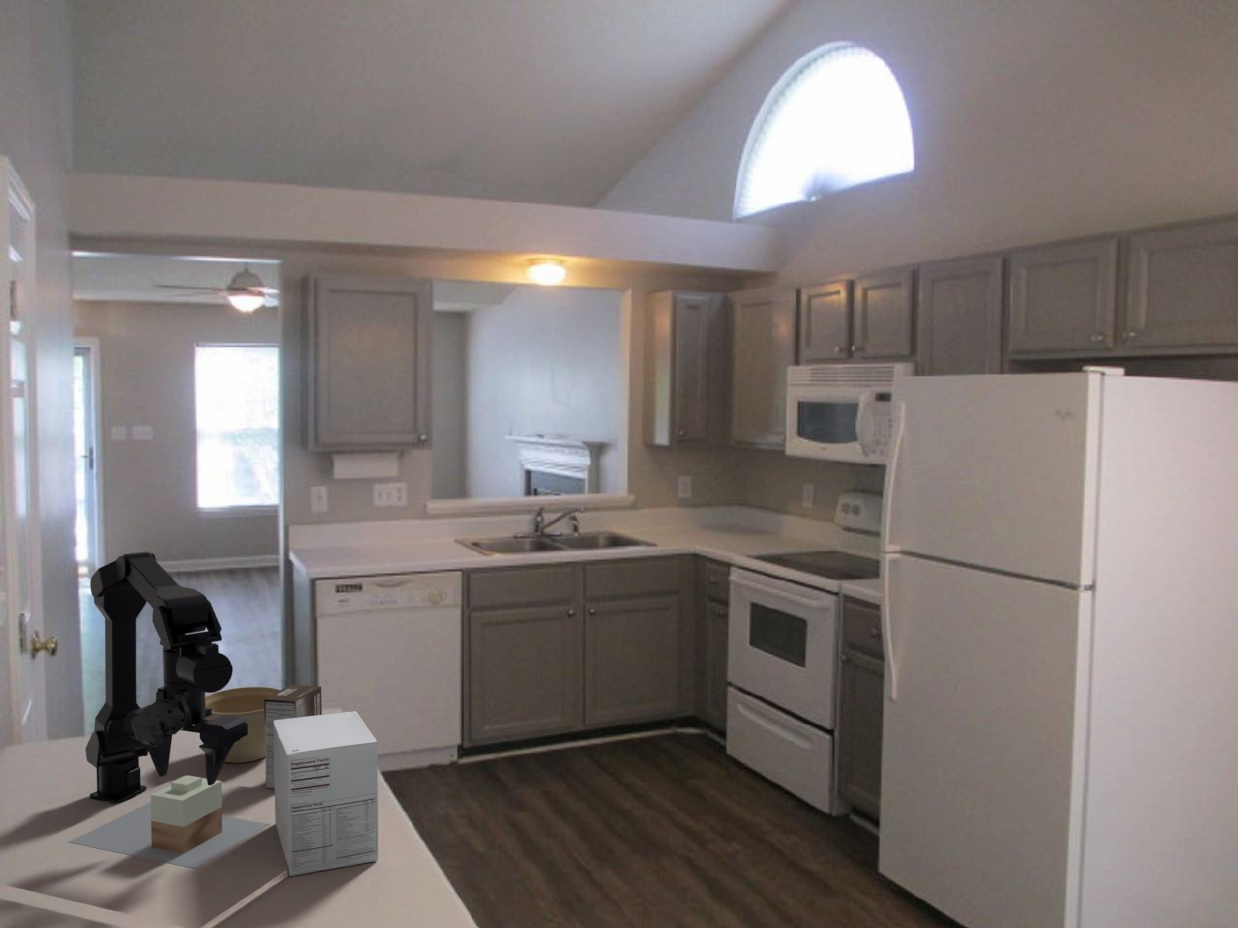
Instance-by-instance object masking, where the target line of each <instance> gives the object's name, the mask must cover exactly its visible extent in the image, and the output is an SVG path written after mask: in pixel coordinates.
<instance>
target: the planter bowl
mask: <svg viewBox="0 0 1238 928" xmlns="http://www.w3.org/2000/svg"><path fill="white" fill-rule="evenodd" d="M280 690H281V689H279V688H275V687H268V686H267V687H266V686H265V687H264V686H245V687H244V686H241V687H233V688H227V689H224V690H222V689H221V690H219V691H217V692H214V693H208V694H207V695H205V701H206V708H212V715H210V716H208V717H206V718H205V720H207V721H211V720H213V719H216V718H218V717H221V716H223V715H230V716H237V717H243V718H244V719H245V720H246V721H247V724H248V735H247V736H244V737H242V738H241V740H239V741H237V742H235V743H234V745H233V746H232V748H231V750H230V752H229V753H228V755H227V757H226V759H225V761H224V763H236V764H237V763H248V762H254V761H257V760H261V759H262V758H265V716H264V699H265V698H267V697H269V696H271V695H272V694H274V693H276V692H278V691H280Z"/></svg>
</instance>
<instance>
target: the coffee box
mask: <svg viewBox="0 0 1238 928" xmlns="http://www.w3.org/2000/svg"><path fill="white" fill-rule="evenodd" d="M279 690H280V691H278V692H276V693H274V694H272V695H271V696H269V697H267V698H265V699H264V716H265V757H264V759H265V788H267V789H274V790H275V780H274V728H273V721H274V720H282V719H291V718H299V717H307V716H317V715H323V714H322V713H323V712H322V710H323V709H322V708H323V707H322V686H320V685H319V686H317V685H299V684H298V685H297V684H289V685H287V686H286V687H283V688H282V689H279Z"/></svg>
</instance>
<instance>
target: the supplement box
mask: <svg viewBox="0 0 1238 928" xmlns="http://www.w3.org/2000/svg"><path fill="white" fill-rule="evenodd" d="M273 728H274V780H275V789H274V813H275V814H274V818H275V820H274V823H275V826H276V830H277V834H278V837H279V840H280V844H281V847H282V851H283V854H284V858H285V861H286V865H287V869H286V870H287V874H288V877H292V876H297V875H304V874H311V873H315V872H320V871H321V872H322V871H327V870H328V871H329V870H333V869H340V868H345V867H351V866H356V865H362V864H367V863H368V864H369V863H373V862H377V861H378V860H379V790H378V789H379V785H378V781H379V780H378V776H379V775H378V774H379V773H378V771H379V770H378V768H379V767H378V766H379V765H378V747H379V746H378V741H377V739H376V738H375V736H374V734H373V733H372V732H371V731H370V729H369V728H368V726H367V725H366V723H365V722H364V720H363V719H362V718H361V716H360V715H359V714H358V712H357V711H355V710H354V711H346V712H338V713H337V712H335V713H329V714H327V713H326V714H322V715H317V716H307V717H299V718H291V719H282V720H274V721H273Z"/></svg>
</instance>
